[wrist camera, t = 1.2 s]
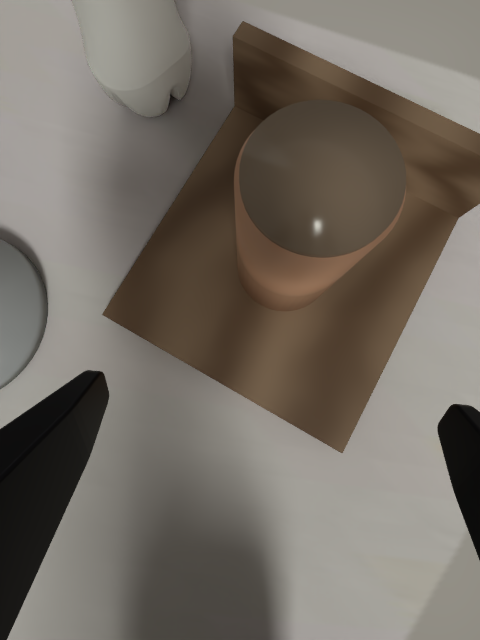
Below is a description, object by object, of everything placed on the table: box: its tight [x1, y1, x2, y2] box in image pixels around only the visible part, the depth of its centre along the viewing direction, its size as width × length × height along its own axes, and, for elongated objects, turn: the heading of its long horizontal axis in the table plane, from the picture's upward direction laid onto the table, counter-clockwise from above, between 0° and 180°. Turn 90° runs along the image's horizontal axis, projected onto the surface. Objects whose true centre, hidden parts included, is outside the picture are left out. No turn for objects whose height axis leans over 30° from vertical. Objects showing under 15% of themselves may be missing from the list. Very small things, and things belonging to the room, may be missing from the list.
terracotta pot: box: [234, 100, 406, 311], centre depth 17 cm, size 6×6×10 cm
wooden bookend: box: [102, 21, 480, 453], centre depth 20 cm, size 18×19×6 cm
